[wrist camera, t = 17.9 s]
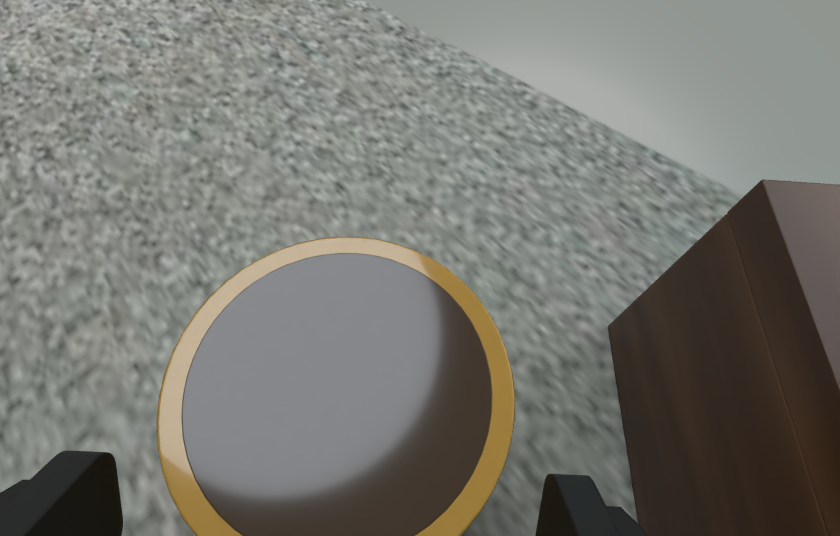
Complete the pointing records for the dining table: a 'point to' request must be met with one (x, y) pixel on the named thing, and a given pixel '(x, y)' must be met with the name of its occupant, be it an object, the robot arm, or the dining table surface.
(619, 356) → the shelf
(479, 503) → the tumbler
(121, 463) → the dining table surface
